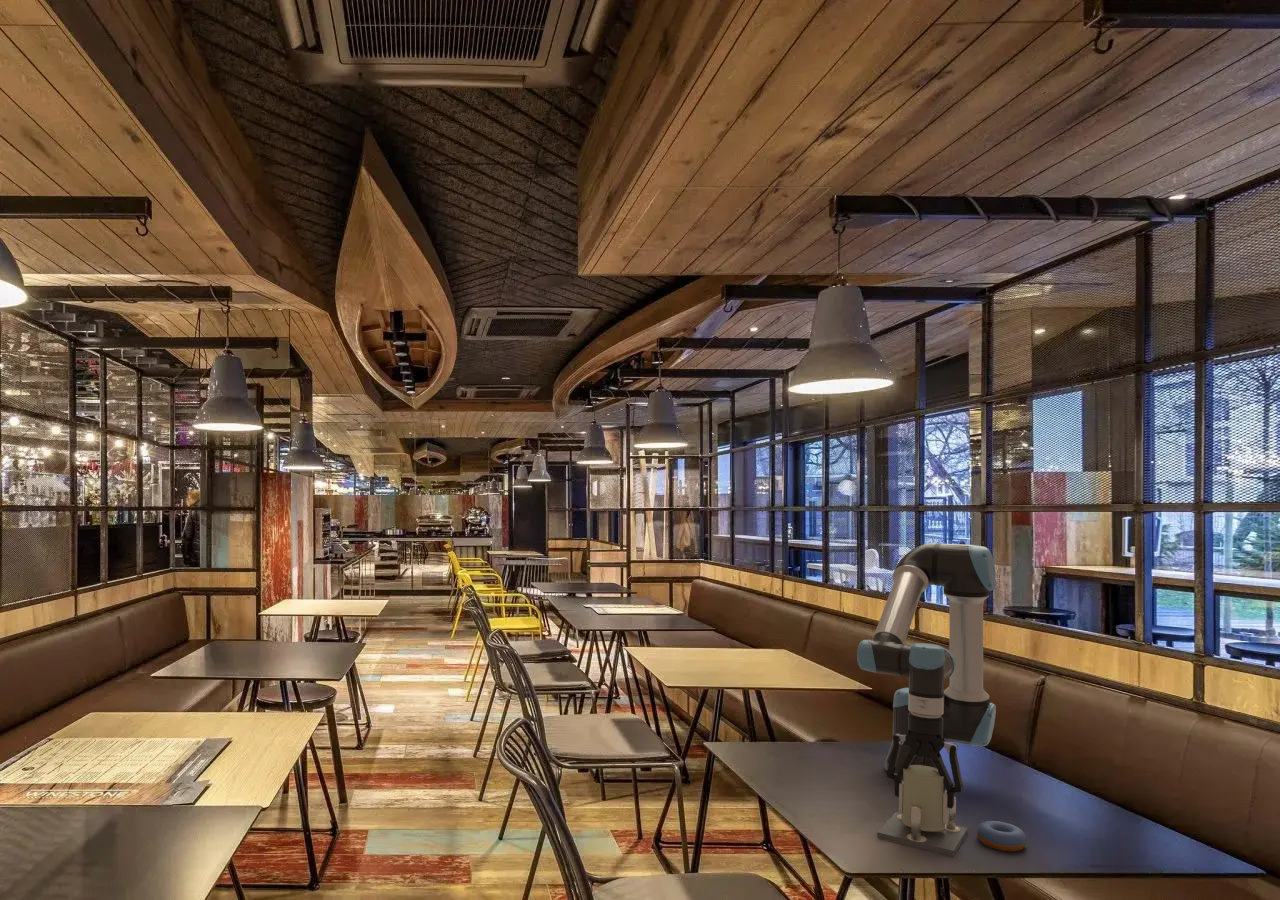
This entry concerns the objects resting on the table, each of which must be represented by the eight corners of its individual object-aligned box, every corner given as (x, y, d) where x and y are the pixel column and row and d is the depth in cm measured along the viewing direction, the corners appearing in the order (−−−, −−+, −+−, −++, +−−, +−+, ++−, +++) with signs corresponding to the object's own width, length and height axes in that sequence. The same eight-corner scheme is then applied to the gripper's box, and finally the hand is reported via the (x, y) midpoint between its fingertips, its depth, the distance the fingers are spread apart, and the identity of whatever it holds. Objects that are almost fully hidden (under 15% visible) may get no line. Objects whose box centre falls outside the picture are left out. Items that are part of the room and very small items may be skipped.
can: (948, 834, 178) (949, 777, 179) (904, 828, 180) (905, 772, 181) (941, 819, 187) (942, 765, 188) (899, 814, 189) (900, 760, 190)
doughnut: (997, 854, 174) (999, 831, 175) (966, 838, 184) (968, 816, 185) (1036, 855, 177) (1037, 833, 178) (1003, 840, 187) (1004, 819, 187)
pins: (902, 816, 191) (903, 785, 192) (956, 828, 185) (956, 796, 186) (886, 834, 180) (887, 801, 180) (943, 848, 173) (944, 814, 174)
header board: (895, 817, 194) (895, 810, 194) (967, 833, 186) (967, 827, 186) (877, 837, 181) (877, 831, 181) (953, 856, 172) (953, 849, 172)
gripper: (873, 709, 188) (870, 810, 186) (973, 725, 176) (971, 834, 175) (882, 703, 194) (879, 801, 192) (979, 719, 183) (977, 823, 181)
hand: (923, 816), depth 184 cm, fingers closed on can, 9 cm apart
